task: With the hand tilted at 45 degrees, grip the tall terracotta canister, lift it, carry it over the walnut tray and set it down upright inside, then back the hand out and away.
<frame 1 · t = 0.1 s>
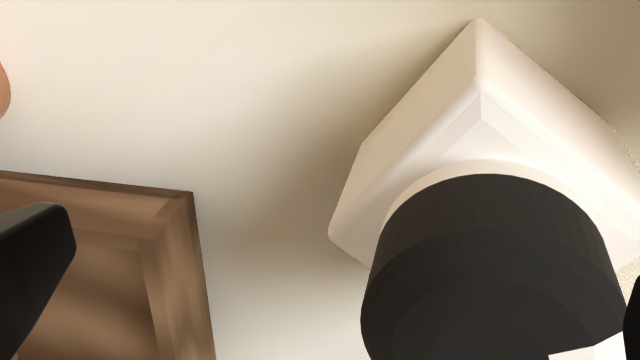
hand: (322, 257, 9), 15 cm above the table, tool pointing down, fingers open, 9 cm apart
medicine bottle: (481, 136, 23), on the table
tray: (92, 286, 32), on the table
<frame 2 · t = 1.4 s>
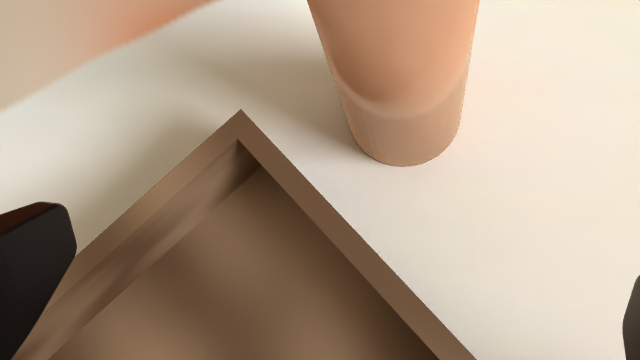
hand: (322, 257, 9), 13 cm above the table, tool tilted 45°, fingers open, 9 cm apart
canister: (403, 113, 24), on the table
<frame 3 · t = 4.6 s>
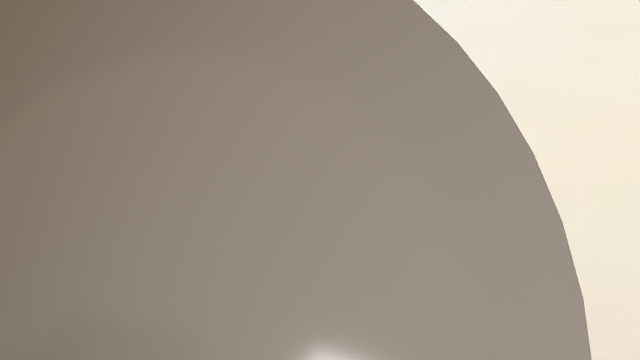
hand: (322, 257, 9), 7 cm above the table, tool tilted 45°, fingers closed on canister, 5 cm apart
canister: (357, 349, 15), on the table, touching gripper
when the fingers open (8 cm above the table, at t = 9.8 s): canister drops 1 cm, resting on tray.
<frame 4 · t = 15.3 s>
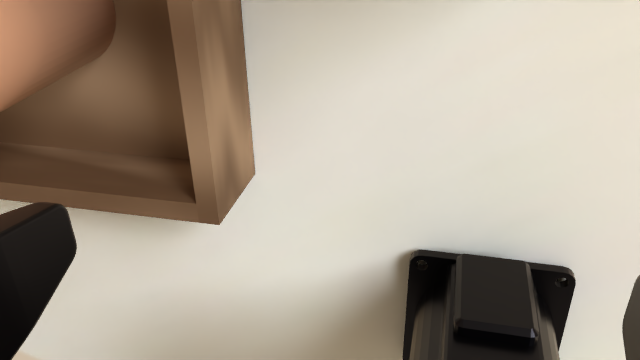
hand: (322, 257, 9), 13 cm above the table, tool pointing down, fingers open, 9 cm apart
canister: (59, 4, 21), point 1 cm above the table, touching tray
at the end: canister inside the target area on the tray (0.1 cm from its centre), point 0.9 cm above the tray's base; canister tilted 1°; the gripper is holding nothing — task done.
